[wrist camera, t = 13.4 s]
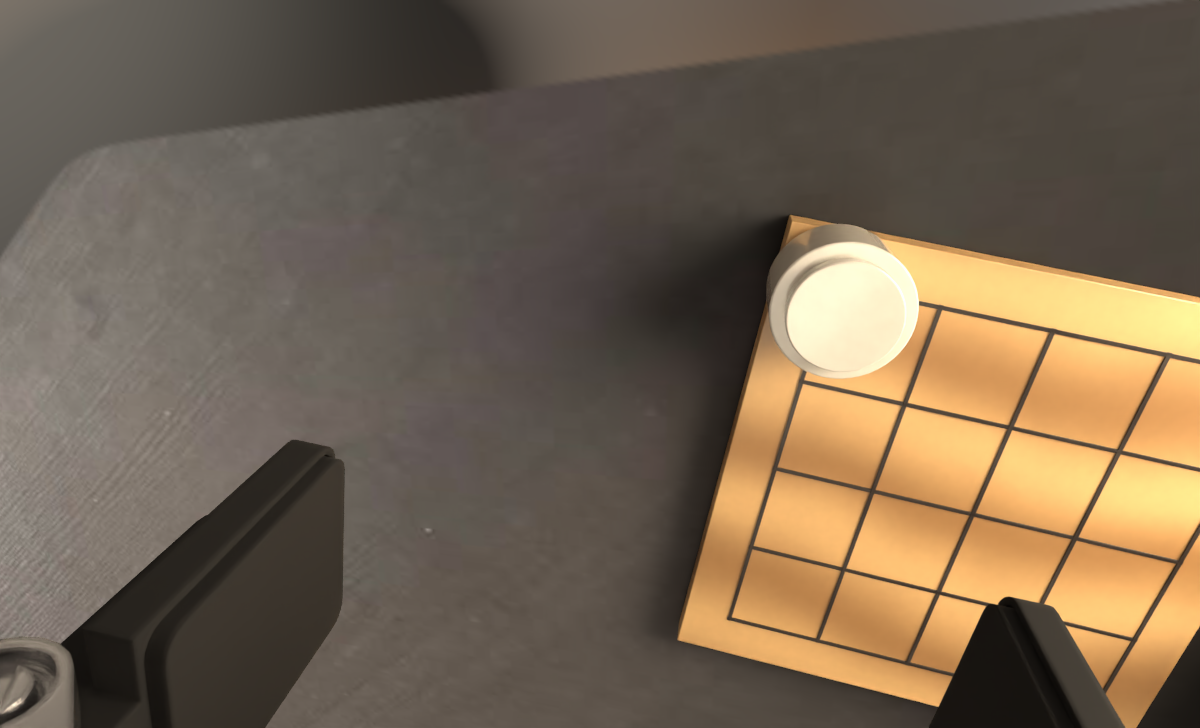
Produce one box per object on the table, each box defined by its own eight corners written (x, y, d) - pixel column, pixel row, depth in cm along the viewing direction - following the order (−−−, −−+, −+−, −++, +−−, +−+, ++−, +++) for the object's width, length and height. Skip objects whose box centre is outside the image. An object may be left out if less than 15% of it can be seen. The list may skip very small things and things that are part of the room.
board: (789, 214, 28) (791, 221, 27) (1353, 328, 27) (1381, 340, 25) (678, 622, 36) (676, 641, 35) (1108, 731, 34) (1121, 755, 33)
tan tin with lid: (784, 211, 27) (791, 232, 24) (919, 238, 27) (945, 263, 23) (752, 334, 29) (754, 368, 26) (877, 361, 29) (895, 400, 25)
